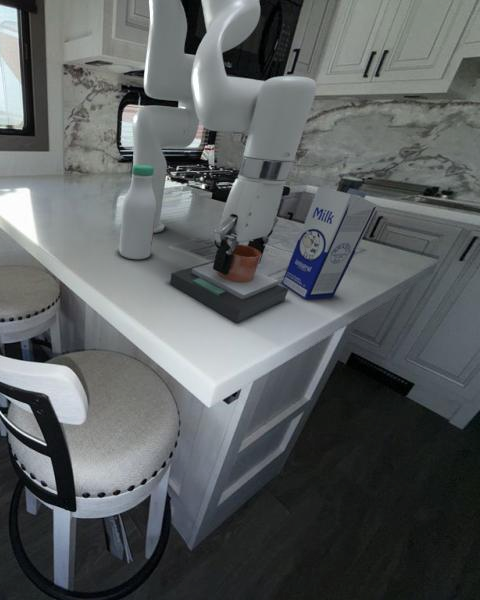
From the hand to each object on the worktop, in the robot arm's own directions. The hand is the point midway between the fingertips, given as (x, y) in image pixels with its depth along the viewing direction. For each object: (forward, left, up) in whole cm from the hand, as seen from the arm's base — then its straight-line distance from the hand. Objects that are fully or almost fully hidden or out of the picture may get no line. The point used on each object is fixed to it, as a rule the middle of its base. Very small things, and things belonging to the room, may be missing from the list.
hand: (236, 266), depth 58 cm
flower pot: (0, 0, -2) cm, 2 cm away
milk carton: (+8, +14, -5) cm, 17 cm away
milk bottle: (-24, -6, -5) cm, 25 cm away
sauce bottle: (+1, +32, -5) cm, 33 cm away
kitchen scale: (0, -2, -5) cm, 5 cm away
